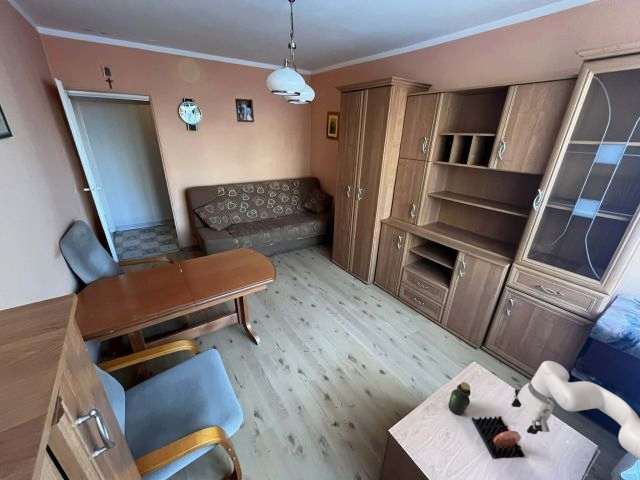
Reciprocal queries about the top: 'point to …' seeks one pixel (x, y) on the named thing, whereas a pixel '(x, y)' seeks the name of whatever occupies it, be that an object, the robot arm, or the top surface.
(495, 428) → the rack
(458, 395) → the potion bottle
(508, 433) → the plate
